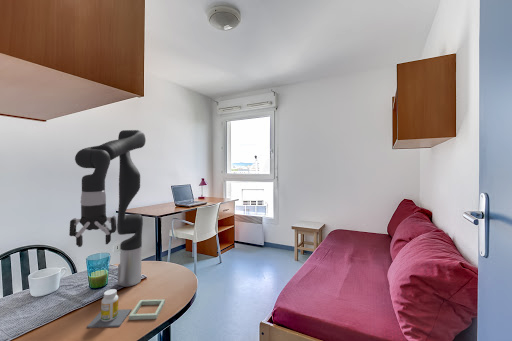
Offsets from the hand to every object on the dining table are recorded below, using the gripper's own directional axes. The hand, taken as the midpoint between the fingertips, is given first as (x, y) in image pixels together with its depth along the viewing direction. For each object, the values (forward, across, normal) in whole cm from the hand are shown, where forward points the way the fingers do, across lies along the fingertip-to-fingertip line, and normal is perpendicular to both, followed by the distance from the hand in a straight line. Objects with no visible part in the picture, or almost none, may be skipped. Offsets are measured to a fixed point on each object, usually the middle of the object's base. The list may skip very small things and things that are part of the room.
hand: (94, 244), depth 84 cm
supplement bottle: (+27, -6, +5) cm, 28 cm away
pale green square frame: (+27, -19, +5) cm, 33 cm away
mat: (+27, -6, +6) cm, 28 cm away
